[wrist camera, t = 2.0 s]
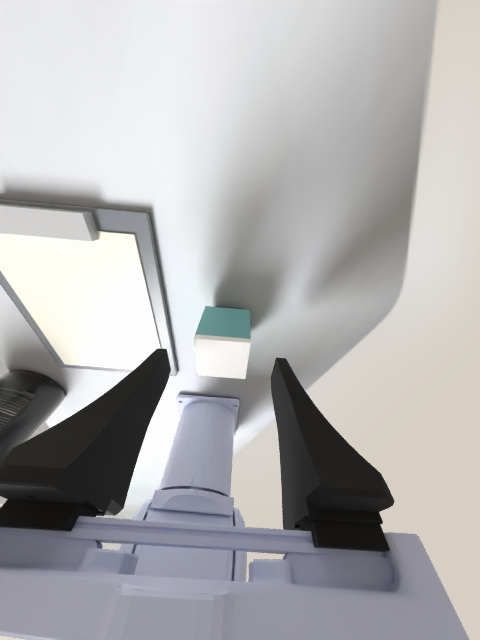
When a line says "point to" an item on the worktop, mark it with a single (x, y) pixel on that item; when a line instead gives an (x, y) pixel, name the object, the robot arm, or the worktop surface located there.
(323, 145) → the worktop surface
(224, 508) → the robot arm
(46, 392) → the supplement bottle
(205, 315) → the teal-topped white block
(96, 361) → the clipboard
